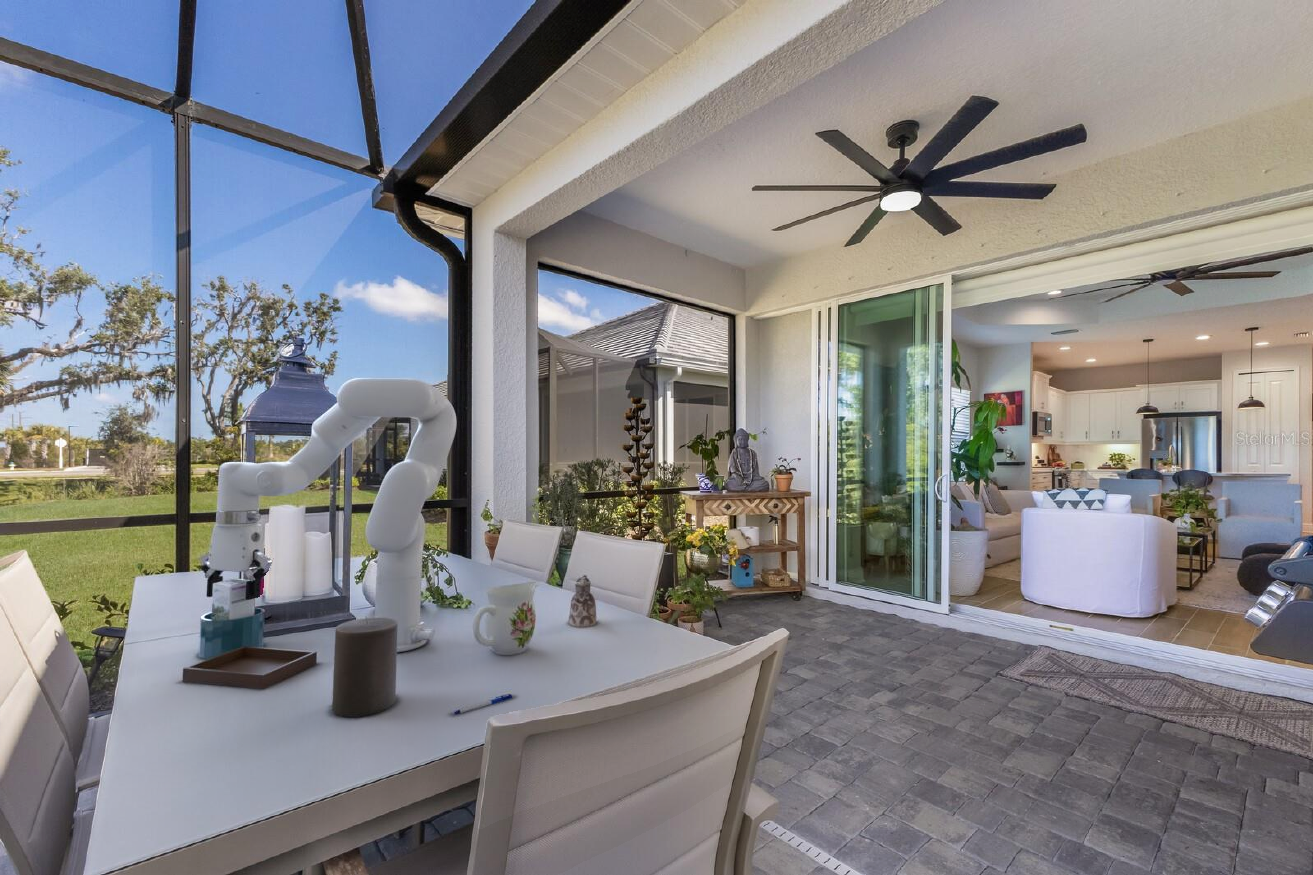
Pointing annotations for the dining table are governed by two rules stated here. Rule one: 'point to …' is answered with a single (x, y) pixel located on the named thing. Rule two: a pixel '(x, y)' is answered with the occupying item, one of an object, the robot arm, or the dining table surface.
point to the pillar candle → (364, 666)
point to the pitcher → (508, 618)
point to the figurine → (582, 605)
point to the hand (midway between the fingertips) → (233, 597)
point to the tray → (250, 667)
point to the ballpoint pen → (485, 703)
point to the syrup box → (231, 600)
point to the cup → (230, 633)
